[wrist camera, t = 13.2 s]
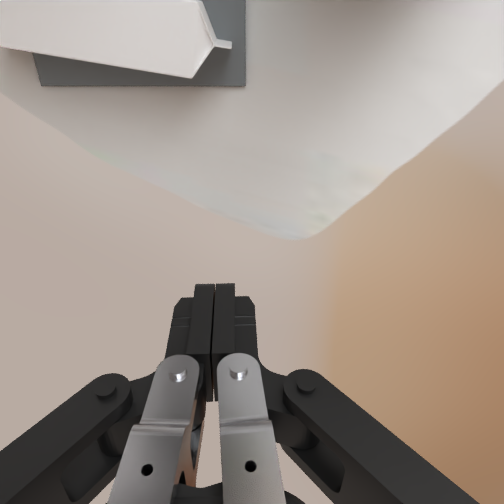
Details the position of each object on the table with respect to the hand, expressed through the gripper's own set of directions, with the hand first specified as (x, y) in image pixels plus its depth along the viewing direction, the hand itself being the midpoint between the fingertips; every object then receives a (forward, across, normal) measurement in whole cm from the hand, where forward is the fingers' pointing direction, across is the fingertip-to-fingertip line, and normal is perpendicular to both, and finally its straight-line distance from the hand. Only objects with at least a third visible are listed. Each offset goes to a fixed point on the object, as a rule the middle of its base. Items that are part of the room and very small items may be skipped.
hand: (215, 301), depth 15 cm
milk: (+30, +21, -10) cm, 38 cm away
